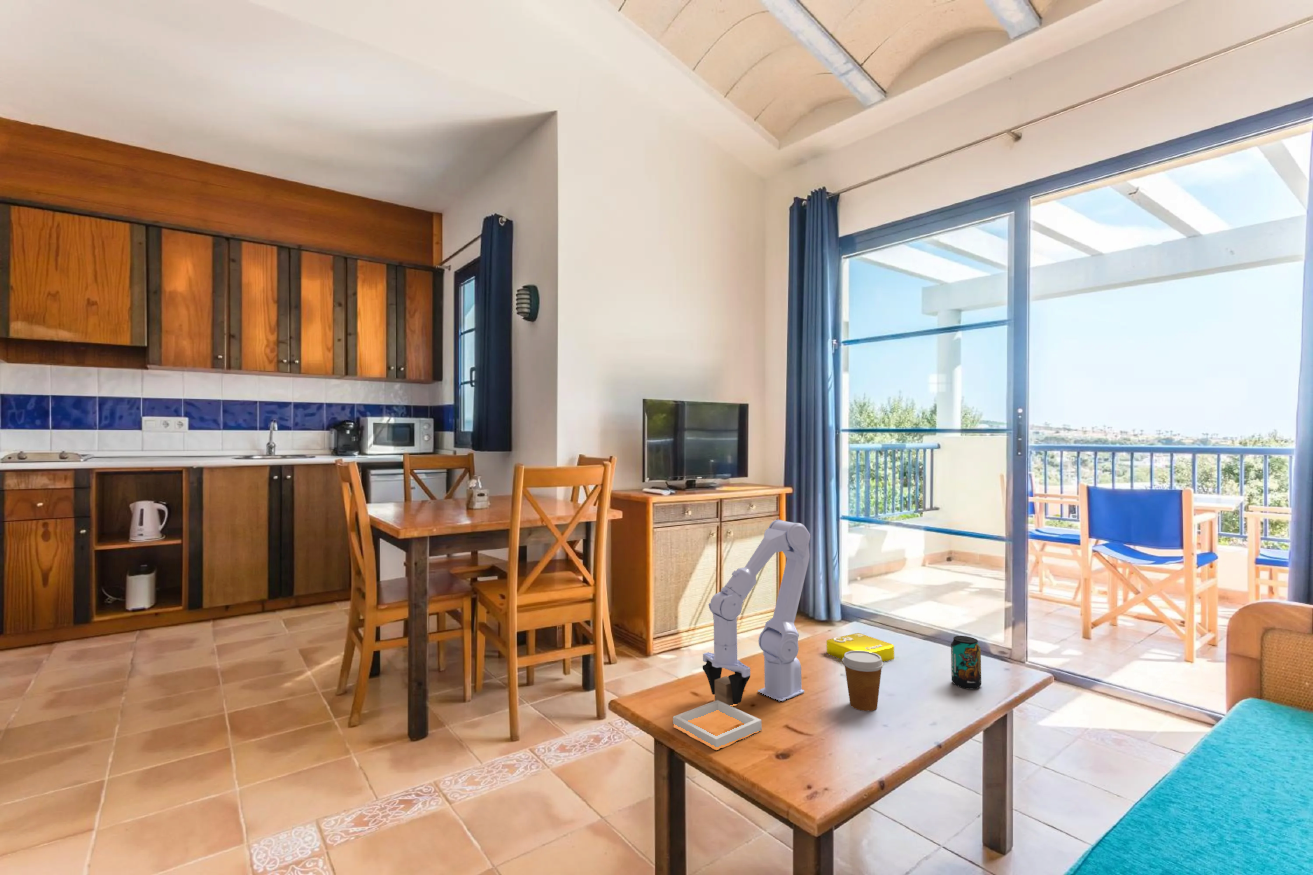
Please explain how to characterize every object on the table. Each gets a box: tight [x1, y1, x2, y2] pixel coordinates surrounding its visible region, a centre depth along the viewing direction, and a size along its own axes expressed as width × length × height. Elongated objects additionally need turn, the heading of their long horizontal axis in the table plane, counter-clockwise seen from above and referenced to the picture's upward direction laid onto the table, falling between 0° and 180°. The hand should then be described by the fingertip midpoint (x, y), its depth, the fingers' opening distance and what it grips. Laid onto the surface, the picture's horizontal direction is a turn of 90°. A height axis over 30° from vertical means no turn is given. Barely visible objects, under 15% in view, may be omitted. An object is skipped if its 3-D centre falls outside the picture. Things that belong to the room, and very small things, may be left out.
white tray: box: [672, 700, 763, 747], centre depth 136 cm, size 14×14×2 cm
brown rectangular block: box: [714, 675, 733, 705], centre depth 149 cm, size 4×4×6 cm
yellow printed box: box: [826, 632, 895, 663], centre depth 183 cm, size 15×15×5 cm
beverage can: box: [950, 635, 982, 690], centre depth 160 cm, size 7×7×12 cm
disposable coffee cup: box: [841, 650, 885, 712], centre depth 148 cm, size 10×10×12 cm
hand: (726, 697), depth 149 cm, fingers open, 7 cm apart
